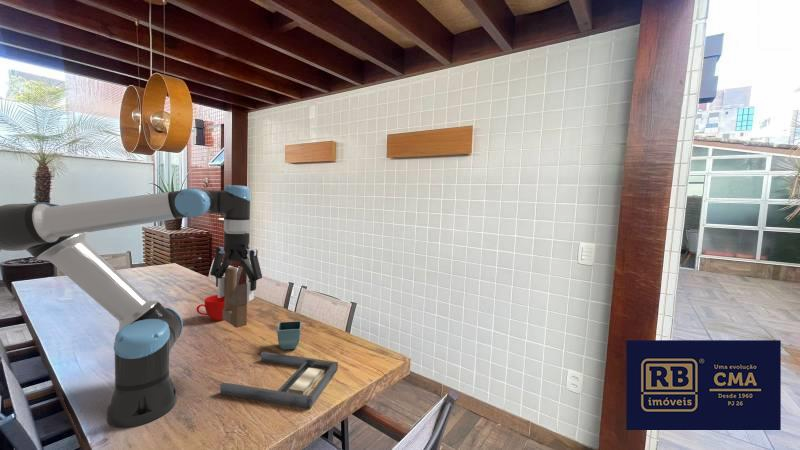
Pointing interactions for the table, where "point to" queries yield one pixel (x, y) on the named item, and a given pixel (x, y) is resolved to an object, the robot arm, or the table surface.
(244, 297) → the wooden block
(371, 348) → the table surface
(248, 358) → the table surface
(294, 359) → the tray
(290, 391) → the offcut stack
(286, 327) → the flower pot
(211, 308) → the ceramic cup
